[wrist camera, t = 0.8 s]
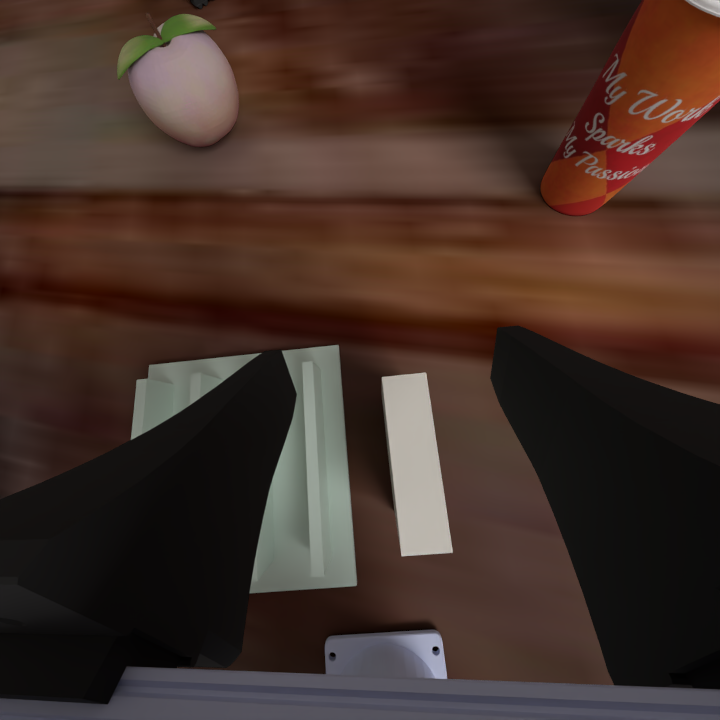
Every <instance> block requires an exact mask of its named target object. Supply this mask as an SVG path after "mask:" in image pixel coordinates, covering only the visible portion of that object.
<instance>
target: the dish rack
mask: <svg viewBox="0 0 720 720" xmlns="http://www.w3.org/2000/svg"><path fill="white" fill-rule="evenodd" d="M282 353H283V356H284V359H285V361H286V364H287V367H288V370H289V373H290V376H291V378H292V381H293V384H294V387H295V390H296V393H297V397H296V403H295V409H294V414H293V419H292V422H291V425H290V428H289V431H288V435H287V438H286V441H285V443H284V446H283V449H282V452H281V455H280V458H279V461H278V464H277V467H276V470H275V473H274V476H273V479H272V483H271V486H270V490H269V494H268V499H267V503H266V507H265V512H264V516H263V521H262V526H261V531H260V536H259V541H258V546H257V551H256V557H255V563H254V569H253V575H252V581H251V586H250V592H249V593H262V592H276V591H291V590H305V589H320V588H334V587H349V586H357V575H356V561H355V548H354V535H353V522H352V509H351V496H350V483H349V470H348V456H347V443H346V430H345V417H344V404H343V391H342V378H341V364H340V351H339V345H332V346H323V347H314V348H304V349H295V350H286V351H282ZM259 354H261V353H258V354H248V355H239V356H230V357H220V358H211V359H202V360H193V361H183V362H174V363H165V364H155V365H149V373H148V379H139V380H137V384H136V394H135V404H134V414H133V424H132V434H131V440H132V439H134V438H136V437H137V436H139V435H141V434H143V433H145V432H147V431H149V430H150V429H152V428H154V427H156V426H157V425H159V424H161V423H162V422H164V421H166V420H167V419H169V418H171V417H172V416H174V415H176V414H177V413H179V412H180V411H182V410H183V409H185V408H186V407H188V406H189V405H191V404H192V403H194V402H195V401H197V400H198V399H199V398H201V397H202V396H204V395H205V394H206V393H208V392H209V391H211V390H212V389H213V388H215V387H216V386H218V385H219V384H220V383H222V382H223V381H224V380H226V379H227V378H228V377H230V376H231V375H232V374H234V373H235V372H236V371H238V370H239V369H240V368H241V367H243V366H244V365H245V364H247V363H248V362H249V361H251V360H252V359H254V358H255V357H256V356H258V355H259Z"/></svg>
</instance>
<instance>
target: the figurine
mask: <svg viewBox="0 0 720 720" xmlns="http://www.w3.org/2000/svg"><path fill="white" fill-rule="evenodd" d="M191 3H192V4H194V5H195V6H196V7H198V8H200V9H202V3H203V4H204V5H207V4H208V1H207V0H191Z"/></svg>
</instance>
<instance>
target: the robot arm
mask: <svg viewBox="0 0 720 720" xmlns="http://www.w3.org/2000/svg"><path fill="white" fill-rule="evenodd" d="M490 379H491V381H492V384H493V387H494V390H495V393H496V396H497V398H498V401H499V403H500V406H501V407H502V409H503V411H504V413H505V415H506V417H507V419H508V421H509V423H510V424H511V426H512V428H513V430H514V432H515V434H516V435H517V437H518V439H519V441H520V443H521V445H522V446H523V448H524V450H525V452H526V454H527V456H528V457H529V459H530V461H531V463H532V465H533V467H534V469H535V471H536V473H537V475H538V477H539V479H540V482H541V484H542V487H543V489H544V491H545V494H546V496H547V499H548V501H549V503H550V506H551V508H552V511H553V513H554V516H555V518H556V521H557V524H558V526H559V529H560V531H561V534H562V537H563V539H564V542H565V544H566V547H567V550H568V552H569V555H570V558H571V561H572V564H573V566H574V569H575V572H576V575H577V578H578V580H579V583H580V586H581V589H582V592H583V594H584V598H585V601H586V604H587V607H588V610H589V613H590V616H591V619H592V622H593V625H594V628H595V631H596V634H597V637H598V640H599V643H600V647H601V650H602V653H603V656H604V660H605V663H606V666H607V669H608V672H609V674H610V677H611V679H612V681H613V683H614V685H590V684H564V683H539V682H513V681H487V680H462V679H447V673H446V665H445V658H444V650H443V643H442V638H441V635H440V633H439V632H438V631H437V630H416V631H400V632H384V633H368V634H351V635H335V636H329V637H328V638H327V640H326V643H325V664H326V674H308V673H282V672H256V671H230V670H205V669H179V668H177V667H217V668H227V667H228V666H230V665H231V664H232V663H233V662H234V661H235V660H236V659H237V657H238V656H239V655H240V653H241V652H242V644H243V635H244V628H245V621H246V614H247V607H248V600H249V592H250V586H251V581H252V575H253V569H254V563H255V557H256V551H257V546H258V541H259V536H260V531H261V526H262V521H263V516H264V512H265V507H266V503H267V499H268V494H269V490H270V486H271V483H272V479H273V476H274V473H275V470H276V467H277V464H278V461H279V458H280V455H281V452H282V449H283V446H284V443H285V441H286V438H287V435H288V431H289V428H290V425H291V422H292V419H293V414H294V409H295V403H296V397H297V393H296V390H295V387H294V384H293V381H292V378H291V376H290V373H289V370H288V367H287V364H286V361H285V359H284V356H283V353H282V350H272V351H264V352H263V353H261V354H259V355H258V356H256V357H255V358H254V359H252V360H251V361H249V362H248V363H247V364H245V365H244V366H243V367H241V368H240V369H239V370H238V371H236V372H235V373H234V374H232V375H231V376H230V377H228V378H227V379H226V380H224V381H223V382H222V383H220V384H219V385H218V386H216V387H215V388H213V389H212V390H211V391H209V392H208V393H206V394H205V395H204V396H202V397H201V398H199V399H198V400H197V401H195V402H194V403H192V404H191V405H189V406H188V407H186V408H185V409H183V410H182V411H180V412H179V413H177V414H176V415H174V416H172V417H171V418H169V419H167V420H166V421H164V422H162V423H161V424H159V425H157V426H156V427H154V428H152V429H150V430H149V431H147V432H145V433H143V434H141V435H139V436H137V437H136V438H134V439H132V440H130V441H128V442H126V443H124V444H122V445H121V446H119V447H117V448H115V449H113V450H111V451H109V452H107V453H105V454H103V455H101V456H99V457H97V458H95V459H93V460H91V461H88V462H86V463H84V464H82V465H80V466H78V467H76V468H73V469H71V470H69V471H67V472H65V473H62V474H60V475H58V476H56V477H53V478H51V479H49V480H46V481H44V482H42V483H39V484H37V485H35V486H32V487H30V488H27V489H25V490H22V491H20V492H17V493H15V494H12V495H10V496H7V497H5V498H2V499H0V720H720V404H716V403H713V402H709V401H706V400H703V399H699V398H696V397H693V396H690V395H687V394H683V393H680V392H677V391H675V390H672V389H669V388H666V387H663V386H660V385H657V384H654V383H651V382H648V381H646V380H643V379H640V378H637V377H635V376H632V375H629V374H627V373H624V372H622V371H620V370H617V369H615V368H612V367H610V366H607V365H605V364H602V363H600V362H598V361H595V360H593V359H591V358H589V357H586V356H584V355H582V354H580V353H577V352H575V351H573V350H571V349H569V348H567V347H565V346H562V345H560V344H558V343H556V342H554V341H552V340H550V339H548V338H546V337H543V336H541V335H539V334H537V333H535V332H533V331H530V330H528V329H526V328H523V327H520V326H510V327H500V328H497V335H496V343H495V350H494V357H493V364H492V371H491V378H490ZM434 646H437V647H438V648H439V649H438V650H437V651H433V650H432V648H433V647H434ZM331 652H333V653H335V654H336V656H335V657H331V656H330V653H331Z"/></svg>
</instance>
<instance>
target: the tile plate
mask: <svg viewBox="0 0 720 720" xmlns="http://www.w3.org/2000/svg"><path fill="white" fill-rule="evenodd" d="M381 394H382V403H383V412H384V422H385V431H386V440H387V449H388V458H389V468H390V477H391V486H392V495H393V504H394V513H395V519H396V525H397V531H398V537H399V543H400V549H401V555H402V556H412V555H426V554H440V553H453V551H452V544H451V537H450V530H449V524H448V517H447V510H446V504H445V497H444V490H443V483H442V477H441V470H440V463H439V457H438V450H437V443H436V437H435V430H434V423H433V416H432V410H431V403H430V396H429V390H428V383H427V376H426V373H417V374H407V375H398V376H388V377H382V392H381Z"/></svg>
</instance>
